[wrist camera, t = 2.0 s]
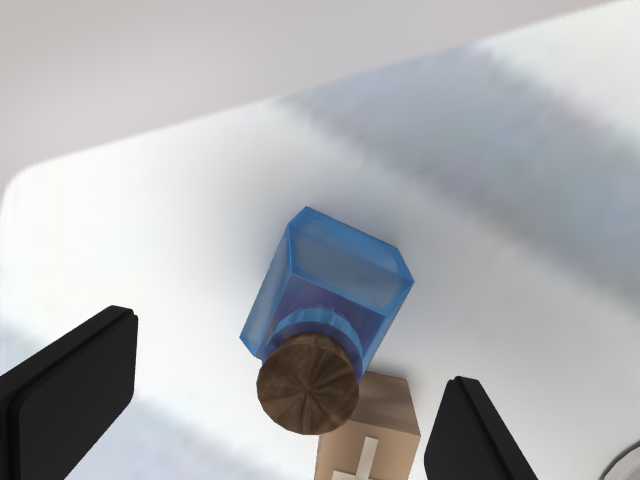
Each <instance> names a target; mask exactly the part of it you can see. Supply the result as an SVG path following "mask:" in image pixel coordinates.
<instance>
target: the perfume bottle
mask: <svg viewBox="0 0 640 480" xmlns="http://www.w3.org/2000/svg"><path fill="white" fill-rule="evenodd" d="M413 284H414V280H413V278H412V276H411V274H410V272H409V270H408V268H407V266H406V264H405V262H404V260H403V258H402V256H401V254H400V252H399V251H398V249H397V248H396V247H394V246H392V245H389V244H387V243H385V242H383V241H381V240H378V239H376V238H374V237H372V236H370V235H368V234H365V233H363V232H361V231H359V230H357V229H354V228H352V227H350V226H348V225H346V224H344V223H341V222H339V221H337V220H335V219H333V218H331V217H328V216H326V215H324V214H322V213H320V212H317V211H315V210H313V209H311V208H309V207H307V206H306V207H305V208H304V209H303V210H302V211H301V212H300V213H299V214H298V215H297V216H296V217H295V218H294V219H293V220H292V221H291V222H290V223H289V224H288V225H287V228H286V230H285V232H284V235H283V237H282V239H281V242H280V244H279V246H278V249H277V251H276V253H275V256H274V258H273V260H272V263H271V265H270V267H269V270H268V272H267V274H266V276H265V279H264V281H263V283H262V286H261V288H260V290H259V293H258V295H257V297H256V300H255V302H254V304H253V307H252V309H251V311H250V314H249V316H248V318H247V321H246V323H245V325H244V328H243V330H242V332H241V335H240V337H239V338H240V339H241V341H242V342H243V343H244V344H245V346H246V347H247V348H248V350H249V351H250V352H251V353H252V355H253V356H254V357H256V358H258V359H260V360H262V367H261V368H260V371H259V375H258V379H257V382H256V385H257V394H258V399H259V401H260V403H261V405H262V407H263V410H264V411H265V412H266V413H267V415H268V416H269V417H270V418H271V419H272V420H273V421H274V422H275V423H277V424H278V425H280V426H282V427H283V428H285V429H286V430H289V431H292V432H295V433H299V434H302V435H320V434H324V433H328V432H332V431H334V430H336V429H337V428H339V427H341V426H342V425H344V424H346V422H347V421H348V420H349V419H350V417H351V416H352V415H353V414H354V413H355V410H356V407H357V404H358V401H359V385H360V382H361V379H362V376H363V374H364V373H365V371H366V369H367V367H368V365H369V363H370V362H371V360H372V358H373V356H374V354H375V353H376V351H377V349H378V347H379V345H380V344H381V342H382V340H383V338H384V336H385V335H386V333H387V331H388V329H389V327H390V325H391V324H392V322H393V320H394V318H395V316H396V315H397V313H398V311H399V309H400V307H401V306H402V304H403V302H404V300H405V298H406V296H407V295H408V293H409V291H410V289H411V287H412V286H413Z"/></svg>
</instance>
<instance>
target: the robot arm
mask: <svg viewBox="0 0 640 480" xmlns="http://www.w3.org/2000/svg"><path fill="white" fill-rule="evenodd" d="M137 333H138V316H137V315H134V312H133V310H132V309H129V308H124V307H119V306H114V305H111V306H109V307H107V308H106V309H104V310H102V311H101V312H99V313H98V314H96V315H95V316H93V317H92V318H90V319H88V320H87V321H85V322H84V323H82V324H81V325H79V326H78V327H76V328H75V329H73V330H71V331H70V332H68V333H67V334H65V335H64V336H62V337H61V338H59V339H58V340H56V341H54V342H53V343H51V344H50V345H48V346H47V347H45V348H44V349H42V350H40V351H39V352H37V353H36V354H34V355H33V356H31V357H30V358H28V359H27V360H25V361H23V362H22V363H20V364H19V365H17V366H16V367H14V368H13V369H11V370H9V371H8V372H6V373H5V374H3V375H2V376H0V480H64V479H65V478H66V477H67V476H68V474H69V473H70V472H71V471H72V470H73V469H74V467H75V466H76V465H77V464H78V463H79V462H80V460H81V459H82V458H83V457H84V456H85V455H86V453H87V452H88V451H89V450H90V449H91V448H92V446H93V445H94V444H95V443H96V442H97V441H98V439H99V438H100V437H101V436H102V435H103V434H104V433H105V431H106V430H107V429H108V428H109V427H110V426H111V424H112V423H113V422H114V421H115V420H116V419H117V417H118V416H119V415H120V414H121V413H122V412H123V410H124V409H125V408H126V407H127V406H128V404H129V403H130V401H131V399H132V397H133V393H134V381H135V365H136V349H137ZM424 467H425V471H426V475H427V479H428V480H538V478H537V477H536V475H535V474H534V472H533V470H532V469H531V467H530V465H529V464H528V462H527V460H526V459H525V457H524V455H523V454H522V452H521V450H520V449H519V447H518V445H517V444H516V442H515V440H514V439H513V437H512V435H511V434H510V432H509V430H508V429H507V427H506V425H505V424H504V422H503V420H502V419H501V417H500V415H499V414H498V412H497V410H496V409H495V407H494V405H493V404H492V402H491V400H490V399H489V397H488V395H487V394H486V392H485V390H484V389H483V387H482V385H481V384H480V382H479V381H478V380H476V379H471V378H466V377H461V376H456V377H455V378H454V380H449V381H448V383H447V385H446V388H445V391H444V394H443V398H442V401H441V404H440V407H439V410H438V413H437V416H436V419H435V422H434V425H433V429H432V432H431V435H430V438H429V441H428V444H427V447H426V450H425V454H424ZM604 480H640V446H639V447H637V448H636V449H634V450H632V451H630V452H629V453H628V454H627V455H625V456H624V457H623V458H622V459H621V460H619V461H618V462H617V463H616V464H615V465H614V466H613V468H612V469H611V470H610V471H609V472H608V473H607V475H606V476H605V478H604Z"/></svg>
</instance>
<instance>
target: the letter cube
mask: <svg viewBox="0 0 640 480" xmlns="http://www.w3.org/2000/svg"><path fill="white" fill-rule="evenodd" d="M420 437H421V435H420V431H419V427H418V423H417V419H416V415H415V411H414V407H413V403H412V399H411V395H410V391H409V387H408V383H407V380H403V379H399V378H394V377H390V376H385V375H381V374H376V373H372V372H367V371H365V373H364V374H363V376H362V379H361V382H360V385H359V401H358V404H357V407H356V410H355V413H354V414H353V415H352V416H351V417H350V419H349V420H348V421H347V422H346V424H344V425H342V426H341V427H339V428H337V429H336V430H334V431H332V432H328V433H324V434H320V435H319V442H318V451H317V459H316V467H315V476H314V480H408V477H409V473H410V470H411V467H412V464H413V460H414V457H415V454H416V451H417V447H418V444H419V441H420Z"/></svg>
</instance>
